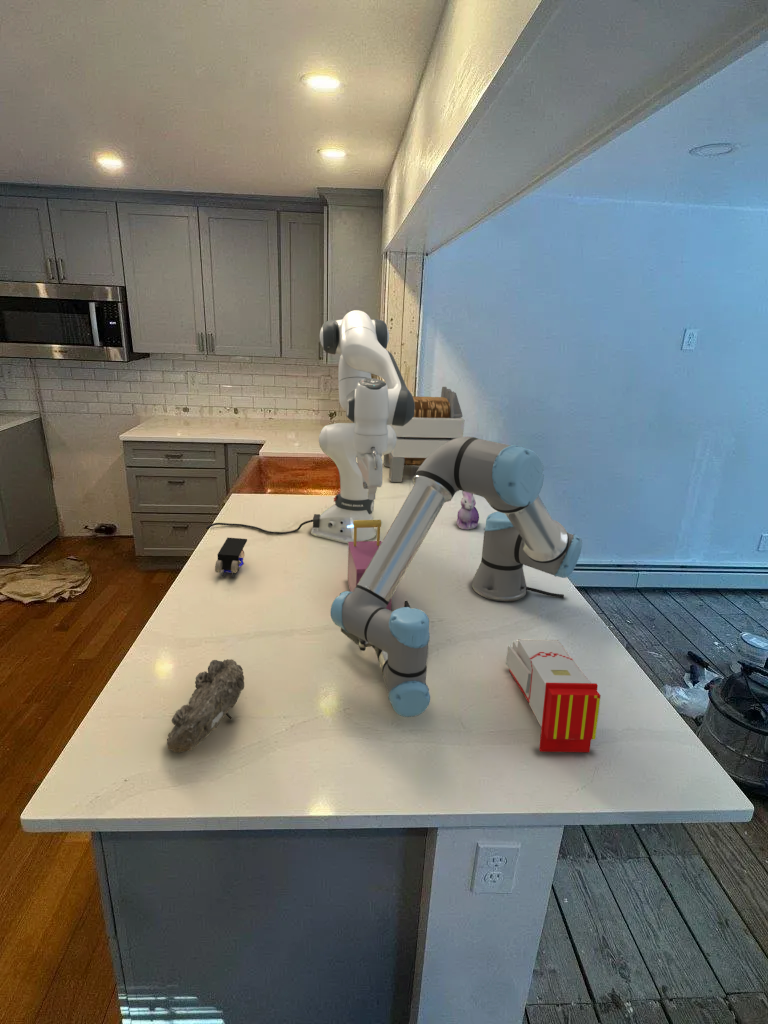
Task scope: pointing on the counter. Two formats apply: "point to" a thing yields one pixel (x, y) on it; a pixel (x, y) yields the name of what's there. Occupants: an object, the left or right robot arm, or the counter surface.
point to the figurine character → (230, 556)
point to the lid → (364, 545)
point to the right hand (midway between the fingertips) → (378, 606)
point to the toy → (556, 694)
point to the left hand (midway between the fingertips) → (368, 493)
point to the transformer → (425, 431)
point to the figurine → (467, 512)
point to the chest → (356, 576)
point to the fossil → (206, 705)
